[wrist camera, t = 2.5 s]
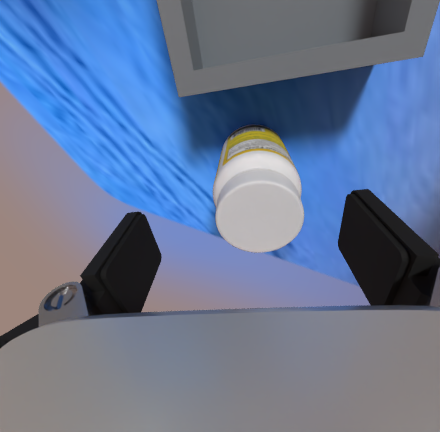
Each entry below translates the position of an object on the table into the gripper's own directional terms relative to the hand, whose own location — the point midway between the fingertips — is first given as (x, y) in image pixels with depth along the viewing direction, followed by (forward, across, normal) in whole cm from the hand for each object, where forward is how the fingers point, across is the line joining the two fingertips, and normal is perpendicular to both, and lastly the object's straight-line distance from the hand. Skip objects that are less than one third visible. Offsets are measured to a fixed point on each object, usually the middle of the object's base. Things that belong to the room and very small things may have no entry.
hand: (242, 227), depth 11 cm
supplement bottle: (+8, -1, -1) cm, 8 cm away
